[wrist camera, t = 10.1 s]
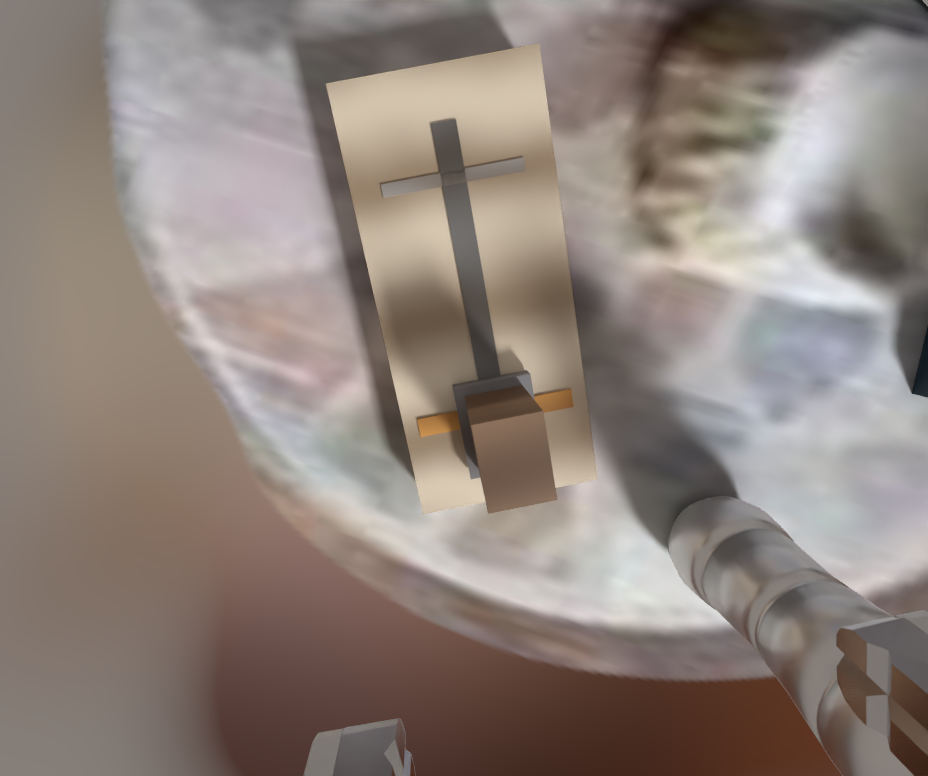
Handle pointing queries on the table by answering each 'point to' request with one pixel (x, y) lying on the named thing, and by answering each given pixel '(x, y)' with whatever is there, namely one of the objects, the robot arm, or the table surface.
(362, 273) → the table surface
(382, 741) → the robot arm
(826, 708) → the plastic bottle
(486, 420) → the slider
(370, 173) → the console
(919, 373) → the watch
